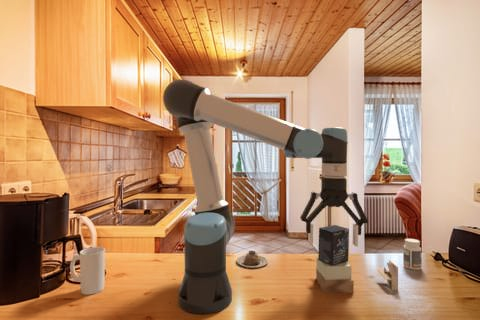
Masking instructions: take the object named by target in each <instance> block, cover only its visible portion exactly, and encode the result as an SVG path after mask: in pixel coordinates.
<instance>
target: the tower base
mask: <svg viewBox="0 0 480 320" xmlns="http://www.w3.org/2000/svg"><path fill="white" fill-rule="evenodd" d="M315 269H316V271H315V272H316V273H315V275H316V276H315V277H316V280H317V282H318V284H319V287H320V288H321V291H322V292H323V293H324V292H325V293H346V294H347V293H348V294H349V293H352V294H354V293H355V291H354V290H355V289H354V286H355V285H354V284H355V283H354V279H353V278H352V277H351V279H342V280H325V279H324V278H323V276H322V275H321V274H320V272H319V271H318V270H317V266H316V268H315Z"/></svg>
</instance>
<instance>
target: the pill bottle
mask: <svg viewBox="0 0 480 320" xmlns="http://www.w3.org/2000/svg"><path fill="white" fill-rule="evenodd" d="M404 243H405V244H404V245H403V248H402V249H403V250H402V251H403V259H402V260H403V261H402V262H403V266H404V267H405V268H406V269H410V270H415V271H419V270H421V269H422V266H423V265H422V263H423V262H422V247H420V245H421V241H420V240H419V239H415V238H405V239H404Z"/></svg>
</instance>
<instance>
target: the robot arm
mask: <svg viewBox="0 0 480 320" xmlns="http://www.w3.org/2000/svg"><path fill="white" fill-rule="evenodd" d="M162 101H163V105H164V107H165V109H166V110H167V112H168V113H169V114H170V115H171V116H173V117H174V118H175V119H176V124H177V129H178V131H179V132H180V133H182V134H183V135H184V141H185V147H186V151H187V156H188V160H189V166H190V170H191V171H190V172H191V176H192V180H193V181H192V182H193V186H194V192H195V196H196V202H197V205H196V207H195V208H194V214H193V215H191V216H190V217H188V218H187V219H186V221H185V223H184V229H183V230H184V231H183V235H184V273H183V274H184V275H183V278H182V281H181V283H180V284H181V285H180V287H179V290H178V294H177V295H178V296H177V297H178V298H177V300H178V306H179V307H180V308H181V310H184V311H185V312H188V313H191V314H195V315H196V314H199V315H207V314H213V313H217V312H219V311H222V310H224V309H225V308H227V307H228V306H230V304H231V303H232V301H233V289H232V287H231V283H230V279H229V277H228V274H227V246H228V244H229V242H230V241H231V239H232V237H233V236H234V233H235V230H236V222H235V218H234V216H233V214H232V213H231V210H230V209H231V208H230V205H229V204H230V203H229V202H228V201H227V200H225V199H224V197H223V192H222V187H221V183H220V178H219V173H218V172H219V171H218V168H217V167H218V166H217V162H216V157H215V152H214V146H213V142H212V136H211V132H210V130H211V127H213V125H216V126H219V127H221V128H225V129H227V130H230V131H232V132H235V133H238V134H241V135H243V136H245V137H248V138H251V139H253V140H256V141H259V142H262V143H264V144H265V145H266V144H267V145H269V146H272V147H274V148H277V149H280V150H283V156H284V157H285V158H291V159H309V160H310V159H321V176H322V178H321V184H320V185H321V191H320V192H315V191H313V190H312V191H311V192H310V197H309V199H308V202H307V204H306V205H305V207H304V209H303V211H302V213H301V215H300V220H301V221H302V222H304V223H305V232H306V234H308V243H309V244H310V245H312V246H314V223H313V221H314V220H315V218H316V217H317V216H318V215H320V213H321V212H322V211H323V210H324V209H325V208H327V207H329V208H340V207H342V208H343V209H344V210H345V212H346V213H347V214H348V215H349V217H351V218H352V220H353V221H354V222H355V223H354V222H353V223H352V245H353V246H354V247H359V236H361V235H362V226H363V225H364V224H369V219H368V218H367V216H366V213H365V212H364V210H363V208H362V206H361V203H360V201H359V198H358V194H357V193H356V192H349V193H348V191H347V186H348V184H347V182H348V179H347V178H346V177H347V176H348V171H347V170H348V169H347V168H348V167H347V165H348V162H347V161H348V160H347V159H348V144H349V143H348V131H347V129H346V128H344V127H325V128H323V129H321V133H320V132H318V131H317V130H316V129H312V128H304V127H301V126H299V125H295V124H294V123H290V122H289V121H285V120H283V119H279V118H277V117H275V116H271V115H269V114H267V113H263V112H261V111H258V110H255V109H253V108H250V107H248V106H244V105H242V104H239V103H236V102H233V101H231V100H228V99H226V98H224V97H223V98H222V97H220V96H217V95H215V94H212V93H211V92H210V90H209V88H206V87H203V86H201V85H199V84H196V83H194V82H192V81H190V80H187V79H183V78H182V79H181V78H180V79H175V80H174V81H172V82H170V83H169V84H168V85H167V86H166V87H165V89H164V91H163V96H162ZM319 198H320V199H321V201H320V202H319V204H318V205H317V206H316V208H315V209H313V210H312V207H314V204H315V202H316V200H318V199H319ZM347 199H350V200H351V202H352V204H353V206H354V208H355V210H356V212H357V215H358V216H359V217H358V216H357V215H356V214H355V212H354V211H353V210H352V209H351V208H350V207H349V205H348V204H347V202H346V201H347ZM311 210H312V212H311ZM310 212H311V213H310Z"/></svg>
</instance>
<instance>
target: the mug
mask: <svg viewBox="0 0 480 320" xmlns="http://www.w3.org/2000/svg"><path fill="white" fill-rule="evenodd" d="M76 261H79V271H80V272H79V274H78V273H77V272H76V269H75V264H76ZM105 264H106V248H105V247H102V246H93V247H89V248H84V249H82V250H79V253H75V254H73V255H72V259H71V261H70V265H69V269H70V274H71V276H72V280H73V281H74V282H79V283H80V293H81V294H83V295H85V296H87V295H88V296H89V295H94V294H95V295H96V294H98V293H100V292H101V291H103V290H104V289H105V277H106V274H105V272H106V271H105V270H106V265H105Z"/></svg>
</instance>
